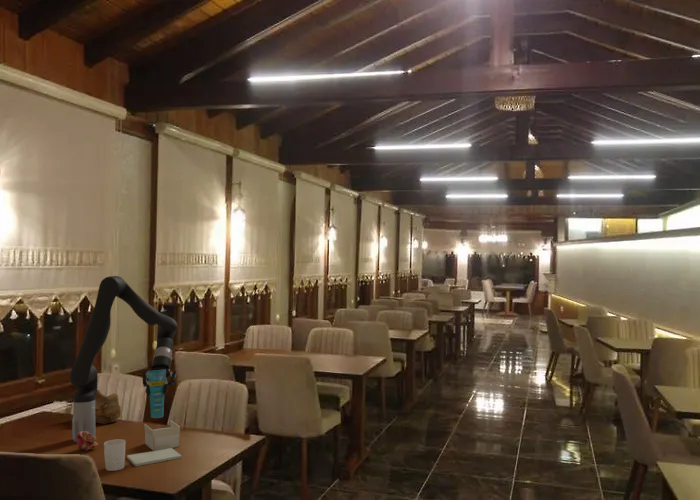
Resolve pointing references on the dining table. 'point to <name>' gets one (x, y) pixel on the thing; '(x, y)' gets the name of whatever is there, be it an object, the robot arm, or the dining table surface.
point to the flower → (86, 440)
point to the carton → (163, 437)
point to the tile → (153, 456)
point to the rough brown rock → (106, 408)
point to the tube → (156, 392)
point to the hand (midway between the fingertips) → (156, 393)
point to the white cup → (114, 454)
